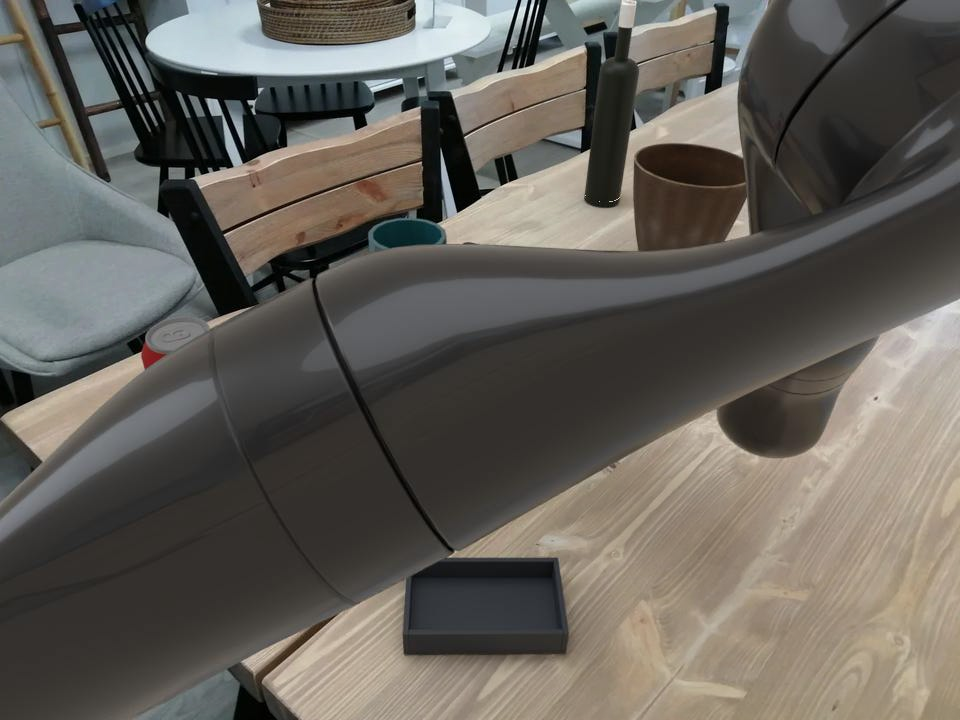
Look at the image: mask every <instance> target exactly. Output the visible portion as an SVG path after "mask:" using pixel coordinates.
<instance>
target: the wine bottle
mask: <svg viewBox="0 0 960 720" xmlns="http://www.w3.org/2000/svg"><path fill="white" fill-rule="evenodd" d="M637 5H638V1H637V0H621V1H620V8H619V17H618V23H617V24H618V25H617V26H618V29H617V37H616V44H615V52H614V56H612V57H609V58H607V59H605V60H604V61H603V62H602V64H601V66H600V67H599V74H598V83H597V90H596V91H597V92H596V98H595V106H594V107H595V108H594V114H593V115H594V116H593V123H592V130H591V131H592V132H591V138H590V139H591V140H590V147H589V154H588V155H589V156H588V163H587V172H586V179H585V189H584V195H583V196H584V197H583V200H584V202H585V203H586V204H588V205H590V206H592V207H596V208H613V207H616V206H618V205H619V204H620V202H621V201H620V200H621V193H622V188H623V182H624V181H623V180H624V174H625V168H626V162H627V161H626V160H627V154H628V148H629V140H630V136H631V128H632V123H633V122H632V121H633V115H634V109H635V103H636V98H637V97H636V96H637V90H638V83H639V78H640V77H639V76H640V67H639V65H638V63H637V62H636V61H635V60H633V59H632V58H630V57H629V54H630V48H631V41H632V33H633V28H634V26H635V25H634V24H635V18H636V10H637ZM585 195H586V196H585ZM619 197H620V198H619ZM618 198H619V199H618ZM616 199H618V200H616ZM614 200H616V201H614ZM599 201H600V202H599ZM609 201H613V202H609Z"/></svg>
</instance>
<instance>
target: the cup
mask: <svg viewBox="0 0 960 720" xmlns="http://www.w3.org/2000/svg"><path fill="white" fill-rule="evenodd" d="M367 236H368V248H369V249H368V253H370V252H373V251H378V250H383V249H388V248H394V247H402V246H412V245H427V244H448V242H447V241H448V239H447V232H446V229H445V228H444V227H442V226H441V224H438V223H436V222H434V221H431V220H428V219H423V218H416V217H399V218H394V219H389V220H383V221H382V222H380V223H378V224H376V225H373V227H372V228H371V229H370V230H369V231H368V233H367Z"/></svg>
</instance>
